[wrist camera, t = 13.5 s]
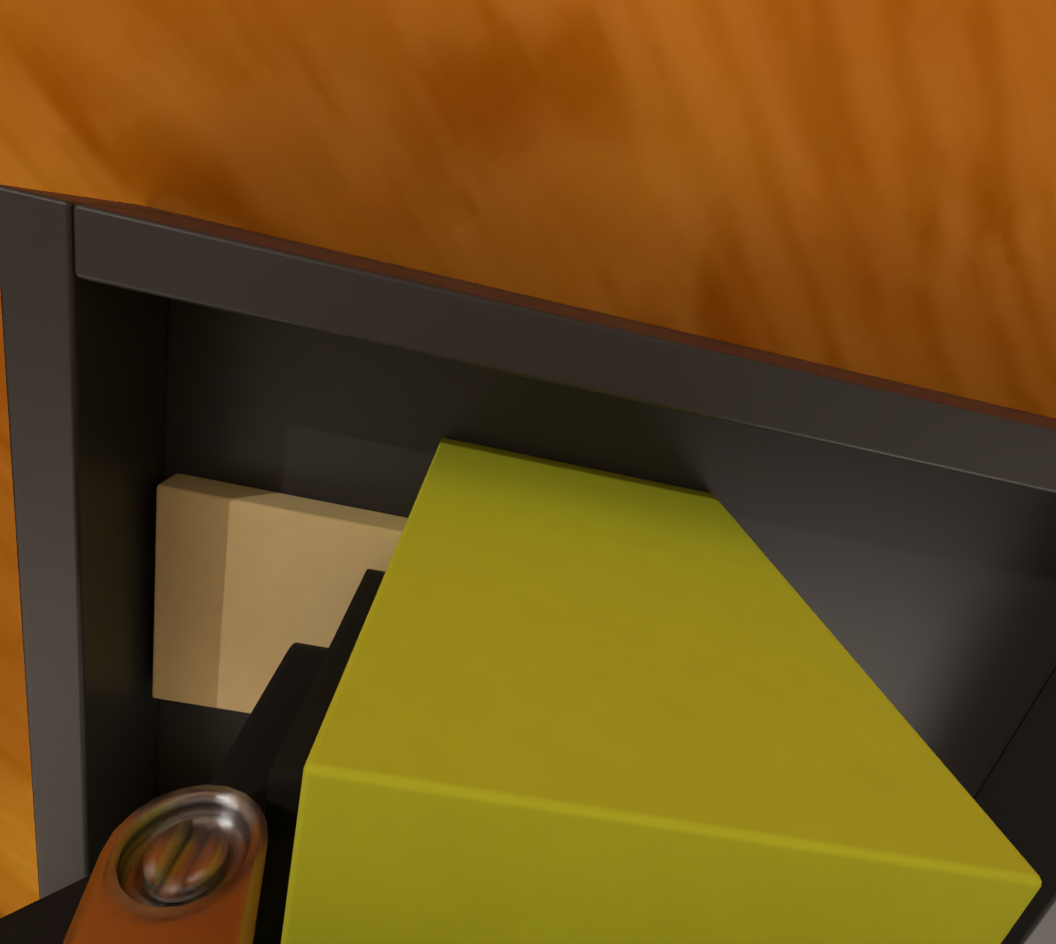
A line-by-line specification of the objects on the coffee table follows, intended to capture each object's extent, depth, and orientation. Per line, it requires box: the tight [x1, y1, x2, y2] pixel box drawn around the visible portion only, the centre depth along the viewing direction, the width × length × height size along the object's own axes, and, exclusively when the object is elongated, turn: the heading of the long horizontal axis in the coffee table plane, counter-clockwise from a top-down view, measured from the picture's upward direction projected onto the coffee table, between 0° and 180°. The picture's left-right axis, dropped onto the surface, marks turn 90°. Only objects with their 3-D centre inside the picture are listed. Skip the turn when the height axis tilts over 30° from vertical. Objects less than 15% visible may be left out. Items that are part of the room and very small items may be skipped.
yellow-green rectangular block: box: [281, 438, 1042, 944], centre depth 8 cm, size 4×7×6 cm, turn 167°
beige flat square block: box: [152, 473, 408, 713], centre depth 10 cm, size 4×4×1 cm
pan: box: [0, 185, 1056, 944], centre depth 10 cm, size 18×12×3 cm, turn 77°
